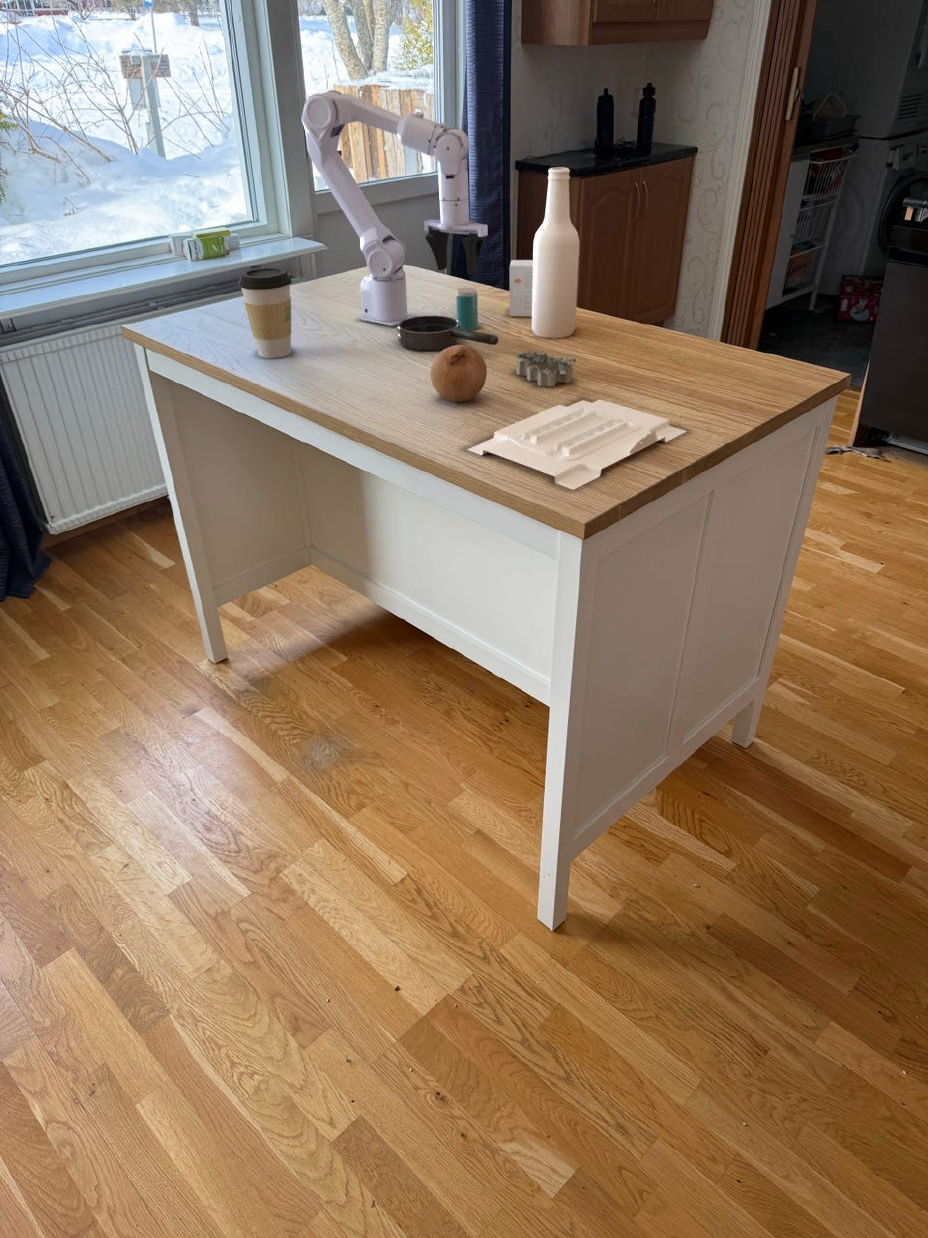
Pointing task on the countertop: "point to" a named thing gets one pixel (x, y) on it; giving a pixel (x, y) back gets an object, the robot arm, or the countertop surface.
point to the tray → (578, 439)
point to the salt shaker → (467, 308)
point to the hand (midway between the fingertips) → (457, 271)
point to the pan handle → (474, 336)
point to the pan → (427, 333)
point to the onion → (458, 373)
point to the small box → (521, 288)
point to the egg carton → (545, 368)
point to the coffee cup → (268, 309)
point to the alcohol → (555, 263)
